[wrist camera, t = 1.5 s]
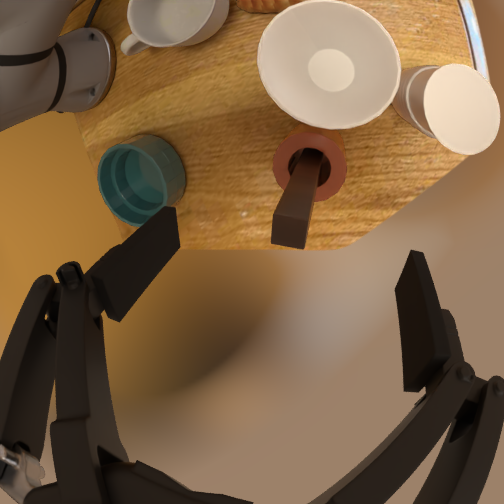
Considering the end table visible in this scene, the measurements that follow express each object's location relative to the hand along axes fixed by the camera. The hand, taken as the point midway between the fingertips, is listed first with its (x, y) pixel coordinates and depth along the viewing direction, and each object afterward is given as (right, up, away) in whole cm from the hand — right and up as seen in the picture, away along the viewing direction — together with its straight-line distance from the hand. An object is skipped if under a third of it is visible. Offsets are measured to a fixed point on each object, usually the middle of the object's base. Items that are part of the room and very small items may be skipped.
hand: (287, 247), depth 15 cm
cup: (+7, +21, +12) cm, 25 cm away
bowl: (-17, +12, +26) cm, 33 cm away
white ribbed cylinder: (+17, +18, +10) cm, 27 cm away
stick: (+6, +12, +17) cm, 21 cm away
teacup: (-10, +30, +11) cm, 33 cm away
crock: (+6, +13, +17) cm, 22 cm away
